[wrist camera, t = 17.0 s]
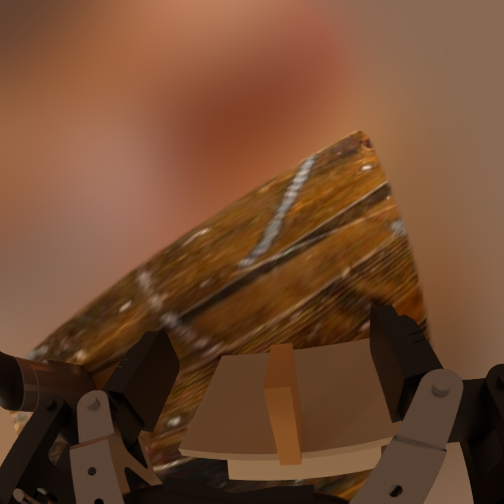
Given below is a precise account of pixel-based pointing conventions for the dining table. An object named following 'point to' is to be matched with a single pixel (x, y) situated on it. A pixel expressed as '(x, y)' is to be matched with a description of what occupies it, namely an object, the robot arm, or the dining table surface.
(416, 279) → the dining table surface
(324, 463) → the cardboard box
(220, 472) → the dining table surface
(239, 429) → the tan box lid
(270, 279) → the dining table surface
